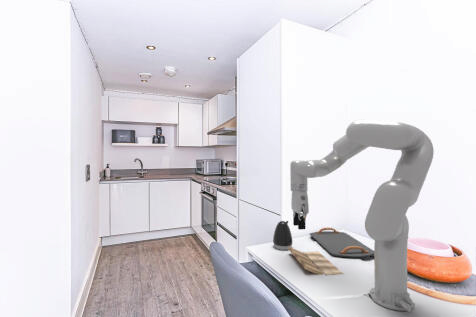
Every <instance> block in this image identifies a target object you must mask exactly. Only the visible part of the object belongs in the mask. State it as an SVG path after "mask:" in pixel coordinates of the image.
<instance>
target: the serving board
mask: <svg viewBox="0 0 476 317" xmlns="http://www.w3.org/2000/svg"><path fill="white" fill-rule="evenodd" d="M309 236H310V237H311V238H312V239H314V240H315V241H316V242H317V243H318V244H319V245H320V246H321V247H322V249H324V250H326V251H327V252H328V254H330V255H331V256H333V257H335V258H337V257H339V258H341V257H342V258H368V257H369V258H371V259H374V250H373V249H372V248H370V247H369V246H367V245H365V244H364V243H362V242H361V241H359V240H358V239H357V238H354V237H353V236H351V235H350V234H348V233H347V232H342V231H339V230H336V229H335V228H333V227H322V228H320V229H319V230H318V231H316V232H314V231H313V232H311V233H309Z"/></svg>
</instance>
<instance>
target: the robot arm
mask: <svg viewBox="0 0 476 317" xmlns="http://www.w3.org/2000/svg"><path fill="white" fill-rule="evenodd" d="M345 130H346V131H345V134H344V135H343V136H342V137H340V138H338V140H336V141H334V142H333V143H332V151H331V152H329V153H328V154H327V155H326V156H325V157H322V158H321V159H312V160H311V159H310V160H292V161H290V165H289V166H290V174H289V176H290V177H289V178H290V191H291V204H290V205H291V210H292V217H293V221H292V222H293V224H292V225H293V226H295V227H296V226H297V229H298V230H306V218H307V216H308V215H307V214H309V213H310V209H309V207H310V206H309V196H308V179H313V178H323V177H326V176H327V175H330V174H331V173H333V172H334V171H336V170H339V168H341V167H343V165H344V164H345V163H346V162H347V161H348V160H350V159H351V158H353V157H355V156H356V155H358V154H360V153H361V152H362V151H364V150H366V149H367V148H370V147H371V148H377V149H385V150H392V151H401V154H400V155H401V156H400V158H399V159H398V161H397V163H396V165H395V169H394V171H393V174H392V176H391V177H390V180H388V181H385V182H383V183H381V184H380V185H379V186H378V188H377V189H376V191H375V193H374V195H373V198H372V200H371V203H370V205H369V208H368V210H367V214H366V216H365V220H364V228H365V231H366V234H367V235H368V236H369V237H370V239H372V240H374V250H373V251H374V258H373V259H374V260H373V261H374V262H373V263H374V270H373V271H374V274H373V275H374V286H373V287H372V288H370V290H369V297H370V298H371V300H372V301H373V302H375V303H376V304H378V305H379V306H382V307H383V308H386V309H389V310H394V311H399V312H400V311H401V312H405V311H406V312H408V313H409V312H411V311H412V310H413V308H416V303H414V301H413V299H412V298H411V296H410V293H409V292H408V241H409V231H410V224H409V219H408V217H407V215H406V214H407V212H408V210H409V208H410V207H412V206H414V205H415V203H417V202H418V199H419V197H420V193H421V190H422V188H423V185H424V183H425V181H426V178H427V175H428V172H429V170H430V167H431V164H432V162H433V158H434V152H435V151H434V146H433V143H432V140H431V139H430V138H429V136H428V135H427V134H426V133H425V132H424V131H423V130H421V129H420V128H419V127H416V126H414V125H411V124H408V123H404V122H398V121H397V122H396V121H382V120H366V119H357V120H354V121H352V122H351V123H350V124H348V126H347V128H346V129H345Z"/></svg>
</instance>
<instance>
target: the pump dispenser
mask: <svg viewBox="0 0 476 317" xmlns="http://www.w3.org/2000/svg"><path fill="white" fill-rule="evenodd" d="M288 224H289V220H280V221H279V222H277V225H276V226H275V229H274V233H273V236H272V237H273V238H272V243H273V245H274V248H275V249H277V250H279V251H289V249H288V248H289V247H291V248H292V245H293V236H292V232H291V228H290V226H289V225H288Z"/></svg>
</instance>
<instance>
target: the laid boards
mask: <svg viewBox="0 0 476 317" xmlns="http://www.w3.org/2000/svg"><path fill="white" fill-rule="evenodd" d="M302 252H303V253H304V254H305V255H306V256H307V257H308V258H309V259H310V260H311V261H312V262H313V263H314V264H315V265H316V266H317V267H318V268H319V269H320V271H321V272H322V273H323V275H324V276H334V275H336V276H339V275H344V273H343V272H342V271H341V270H340V269H339V268H338V267H337V266H336V265H335V264H334V263H332V261H330V260H329V259H327V257H326V256H324V255H323V254H322V253H321V252H320V251H302Z"/></svg>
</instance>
